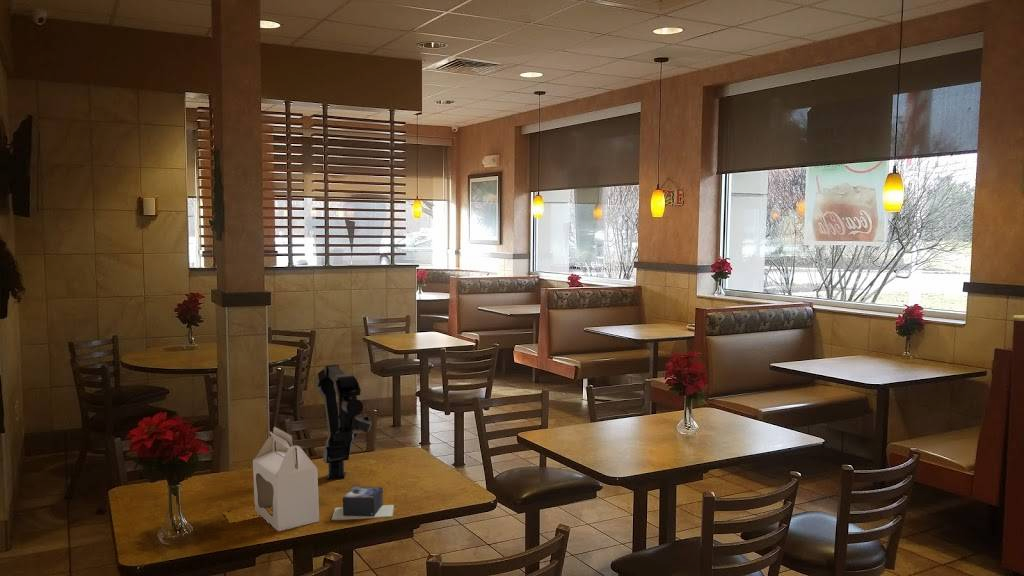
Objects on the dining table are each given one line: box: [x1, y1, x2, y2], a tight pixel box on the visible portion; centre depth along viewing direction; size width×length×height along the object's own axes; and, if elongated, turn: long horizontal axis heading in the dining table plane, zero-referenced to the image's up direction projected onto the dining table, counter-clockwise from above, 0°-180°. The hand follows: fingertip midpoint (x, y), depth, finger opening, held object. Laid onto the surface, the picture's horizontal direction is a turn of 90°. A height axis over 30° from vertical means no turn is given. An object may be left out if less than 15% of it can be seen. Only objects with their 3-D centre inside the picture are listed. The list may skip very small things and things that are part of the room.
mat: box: [331, 504, 395, 521], centre depth 246 cm, size 10×19×1 cm, turn 96°
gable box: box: [252, 426, 320, 532], centre depth 243 cm, size 22×13×28 cm, turn 37°
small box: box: [342, 486, 384, 516], centre depth 247 cm, size 11×6×10 cm
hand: (347, 455), depth 267 cm, fingers closed
